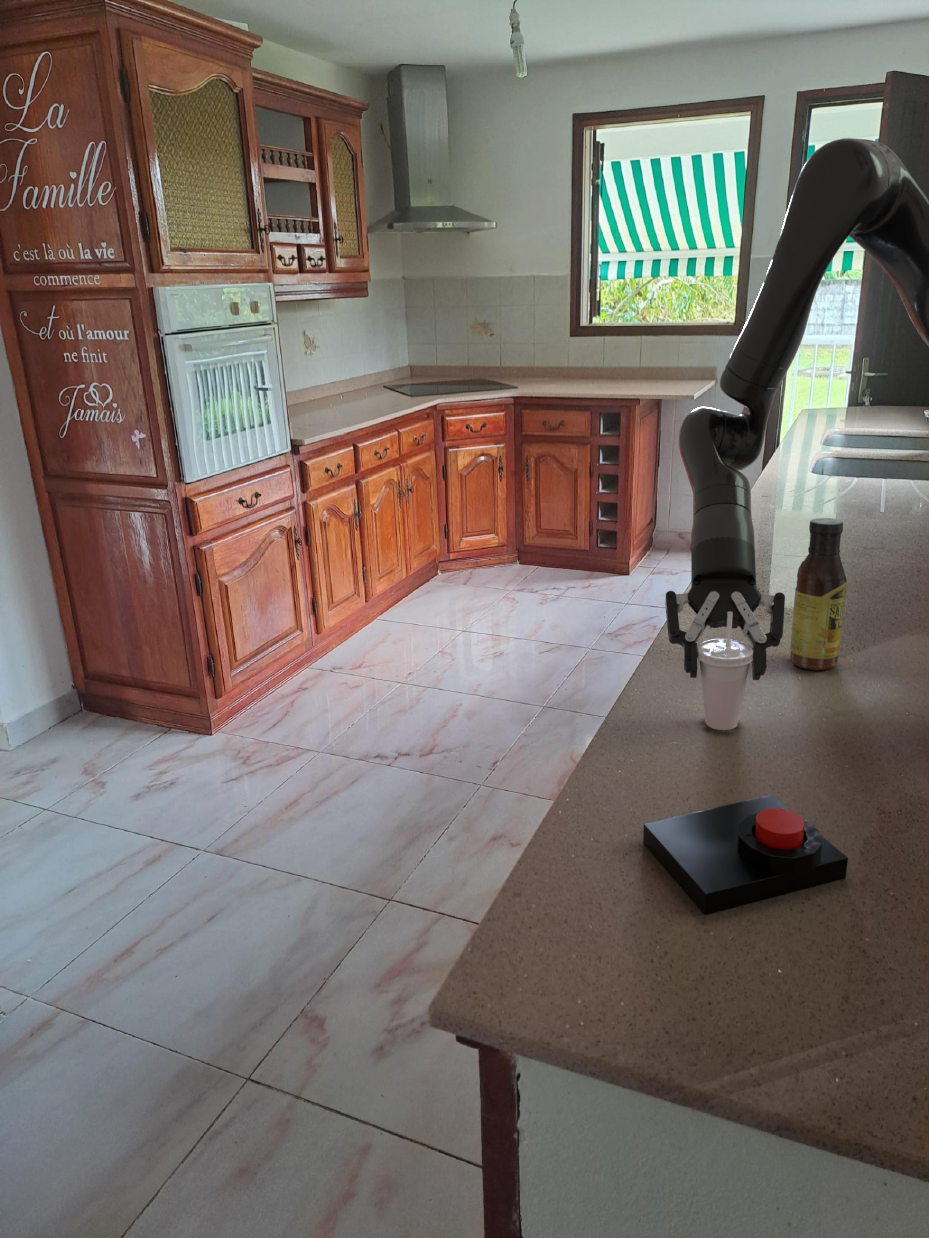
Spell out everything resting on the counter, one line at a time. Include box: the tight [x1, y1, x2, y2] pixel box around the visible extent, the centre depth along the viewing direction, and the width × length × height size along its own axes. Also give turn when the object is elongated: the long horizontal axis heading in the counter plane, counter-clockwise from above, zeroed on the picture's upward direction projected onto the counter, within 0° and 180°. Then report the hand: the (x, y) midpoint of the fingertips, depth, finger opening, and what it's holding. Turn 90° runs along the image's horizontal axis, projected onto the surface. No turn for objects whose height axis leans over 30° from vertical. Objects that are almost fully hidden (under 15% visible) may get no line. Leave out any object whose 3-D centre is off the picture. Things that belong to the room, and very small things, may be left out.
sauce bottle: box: [789, 517, 848, 671], centre depth 117 cm, size 6×6×20 cm
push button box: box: [642, 794, 849, 916], centre depth 80 cm, size 14×12×4 cm
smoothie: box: [697, 612, 753, 731], centre depth 103 cm, size 6×6×14 cm
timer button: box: [755, 808, 805, 850], centre depth 77 cm, size 4×4×2 cm
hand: (725, 676), depth 101 cm, fingers closed on smoothie, 6 cm apart
